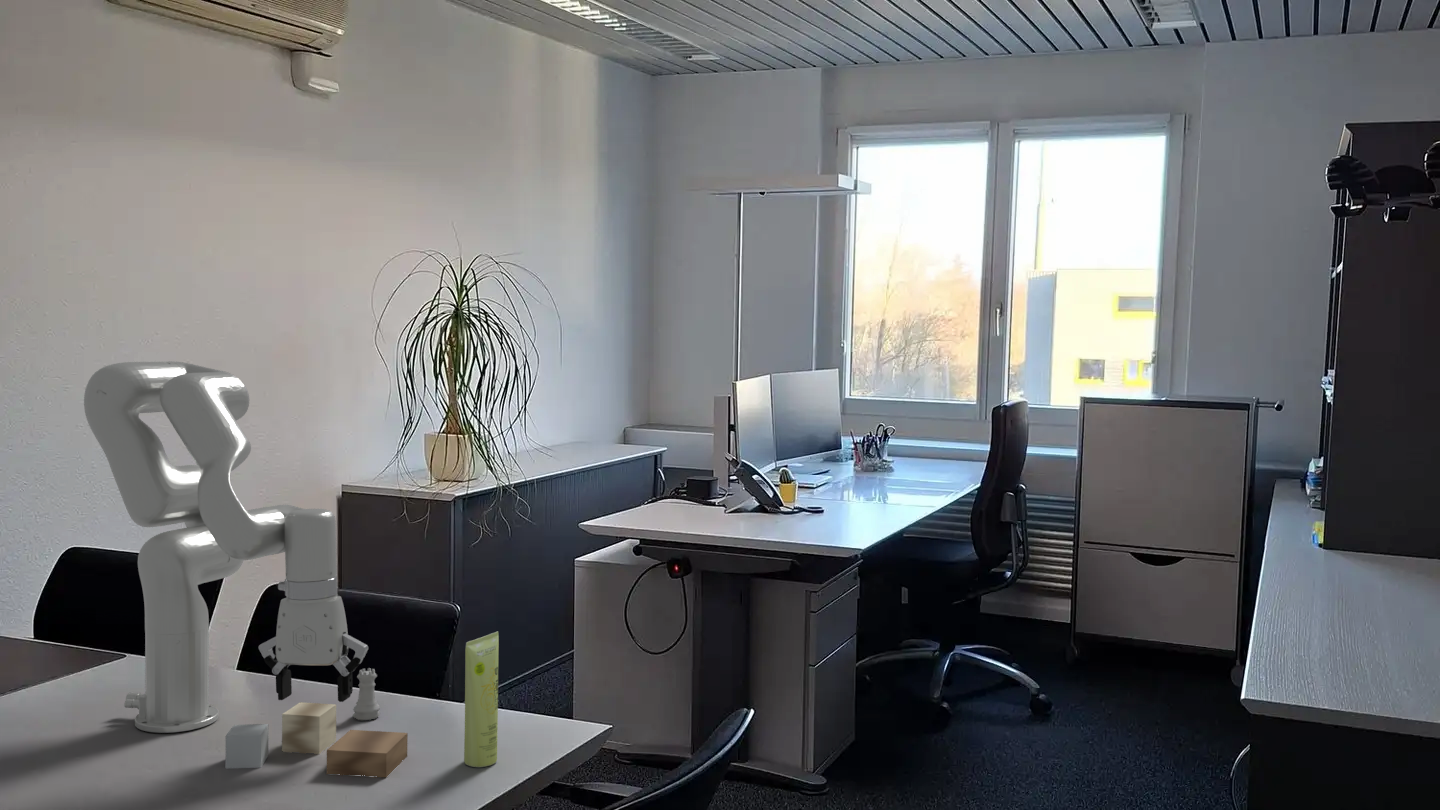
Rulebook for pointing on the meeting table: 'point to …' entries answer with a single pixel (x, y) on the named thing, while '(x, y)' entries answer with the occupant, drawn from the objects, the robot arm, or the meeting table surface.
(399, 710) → the meeting table surface
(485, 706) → the tube
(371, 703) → the rook chess piece
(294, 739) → the birch block
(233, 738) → the grey block
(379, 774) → the walnut block
